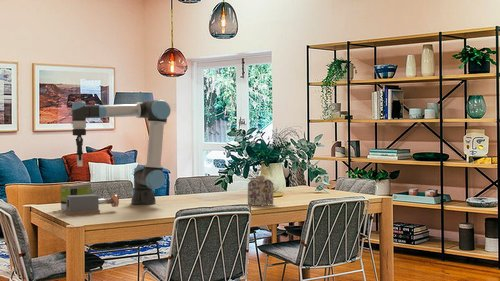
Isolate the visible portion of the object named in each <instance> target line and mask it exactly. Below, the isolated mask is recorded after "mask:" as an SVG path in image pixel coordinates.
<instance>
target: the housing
mask: <svg viewBox="0 0 500 281" xmlns="http://www.w3.org/2000/svg"><path fill="white" fill-rule="evenodd" d="M99 196H100V195H97V194H94V193H91V194H88V195H70V196H66V210H63V214H65V215H67V216H69V217H71V216H72V217H73V216H86V215H87V216H88V215H99V214H100V212H101V210H100V208H99V206H100V204H99V199H100V197H99Z"/></svg>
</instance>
